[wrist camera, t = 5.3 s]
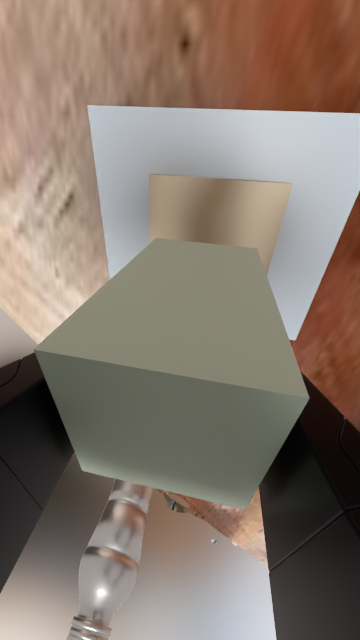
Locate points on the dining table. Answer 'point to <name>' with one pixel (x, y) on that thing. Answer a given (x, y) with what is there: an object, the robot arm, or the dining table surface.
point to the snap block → (178, 373)
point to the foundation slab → (218, 211)
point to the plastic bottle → (111, 560)
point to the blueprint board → (233, 163)
